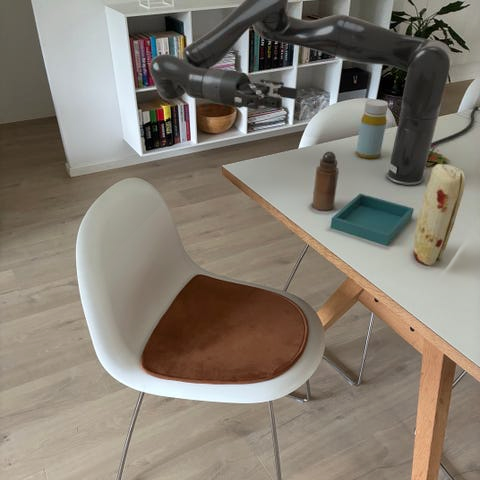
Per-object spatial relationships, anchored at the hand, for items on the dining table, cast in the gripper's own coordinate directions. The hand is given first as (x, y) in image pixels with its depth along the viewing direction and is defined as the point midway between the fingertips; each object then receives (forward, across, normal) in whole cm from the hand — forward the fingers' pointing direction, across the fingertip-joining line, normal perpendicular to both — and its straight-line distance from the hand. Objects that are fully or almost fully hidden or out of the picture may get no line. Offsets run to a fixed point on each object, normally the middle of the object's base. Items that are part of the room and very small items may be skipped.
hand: (289, 98), depth 117 cm
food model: (+38, -11, +24) cm, 47 cm away
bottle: (+10, +39, +24) cm, 47 cm away
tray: (+24, -2, +24) cm, 34 cm away
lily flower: (+27, +45, +24) cm, 57 cm away
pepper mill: (+11, 0, +24) cm, 26 cm away
